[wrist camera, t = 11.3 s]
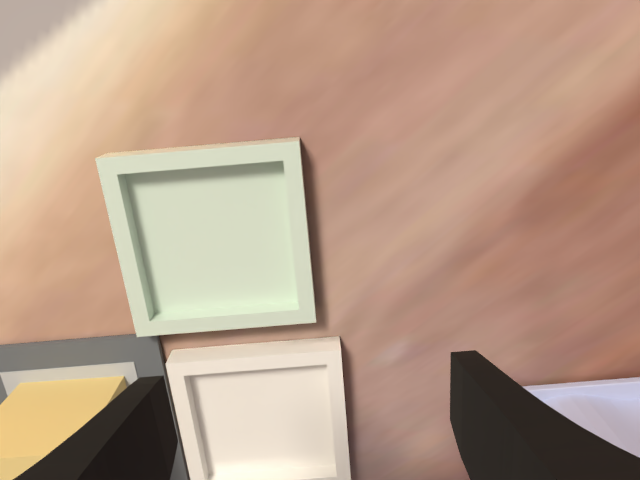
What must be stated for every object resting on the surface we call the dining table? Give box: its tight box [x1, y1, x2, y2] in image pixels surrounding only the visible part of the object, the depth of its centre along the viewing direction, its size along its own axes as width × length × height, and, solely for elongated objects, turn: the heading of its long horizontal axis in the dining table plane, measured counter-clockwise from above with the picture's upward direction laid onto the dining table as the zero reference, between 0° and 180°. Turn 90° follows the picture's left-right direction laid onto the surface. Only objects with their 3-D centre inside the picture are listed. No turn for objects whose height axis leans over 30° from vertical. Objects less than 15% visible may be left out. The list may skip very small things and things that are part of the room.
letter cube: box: [0, 376, 127, 480], centre depth 22 cm, size 5×5×5 cm
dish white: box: [166, 336, 351, 480], centre depth 25 cm, size 8×8×1 cm
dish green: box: [95, 137, 316, 337], centre depth 21 cm, size 8×8×1 cm
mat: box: [0, 334, 190, 480], centre depth 25 cm, size 9×9×1 cm
